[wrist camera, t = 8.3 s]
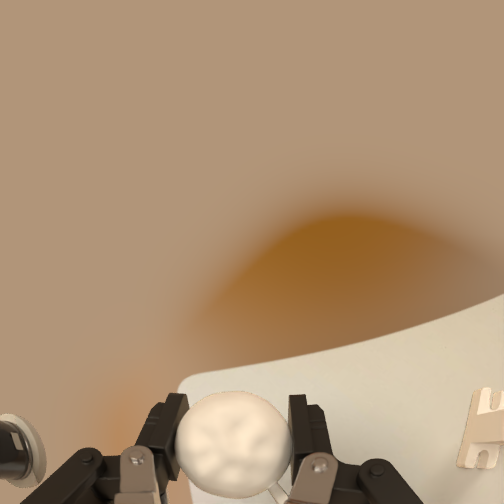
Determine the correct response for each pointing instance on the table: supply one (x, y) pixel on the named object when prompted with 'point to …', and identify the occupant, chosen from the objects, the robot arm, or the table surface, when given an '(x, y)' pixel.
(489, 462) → the cream mounting bracket
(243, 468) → the milkshake
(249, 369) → the table surface
